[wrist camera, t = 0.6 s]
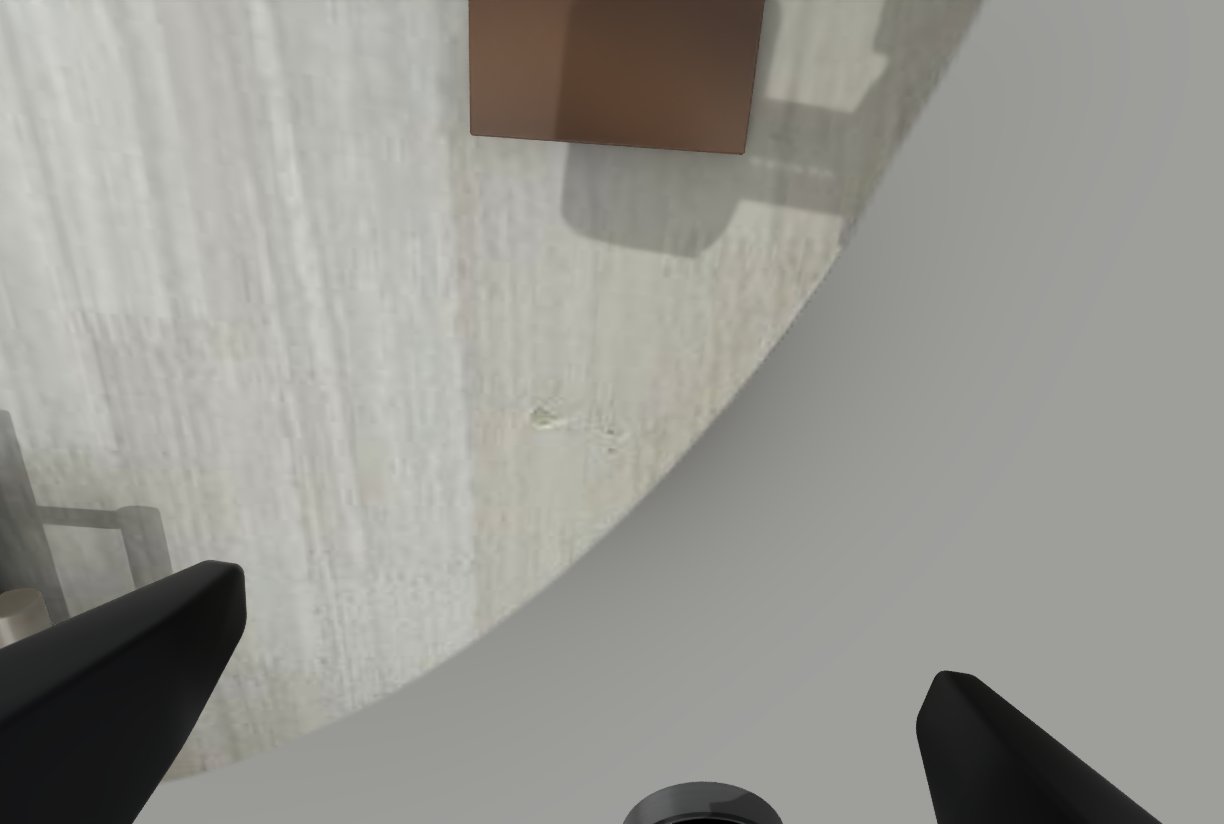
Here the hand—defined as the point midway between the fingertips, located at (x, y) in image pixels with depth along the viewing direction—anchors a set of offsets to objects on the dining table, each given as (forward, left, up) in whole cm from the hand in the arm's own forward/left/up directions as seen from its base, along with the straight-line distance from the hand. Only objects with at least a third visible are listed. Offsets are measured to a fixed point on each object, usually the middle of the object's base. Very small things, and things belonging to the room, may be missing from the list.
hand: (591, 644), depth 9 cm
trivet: (+9, +1, -13) cm, 16 cm away
